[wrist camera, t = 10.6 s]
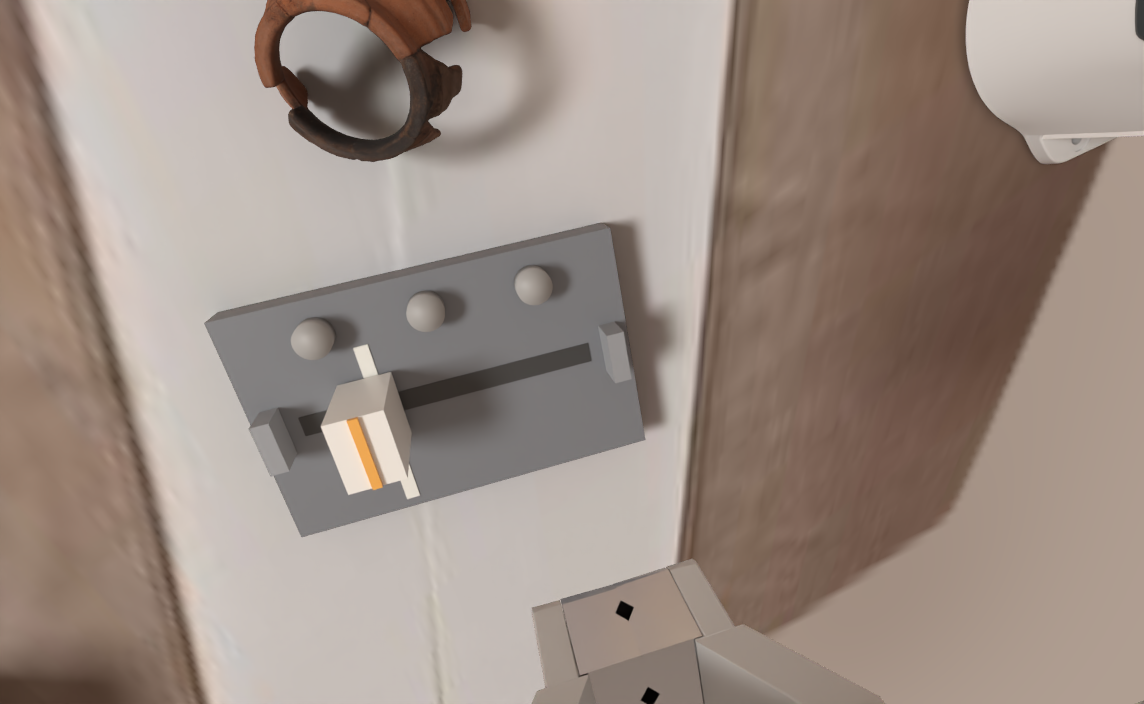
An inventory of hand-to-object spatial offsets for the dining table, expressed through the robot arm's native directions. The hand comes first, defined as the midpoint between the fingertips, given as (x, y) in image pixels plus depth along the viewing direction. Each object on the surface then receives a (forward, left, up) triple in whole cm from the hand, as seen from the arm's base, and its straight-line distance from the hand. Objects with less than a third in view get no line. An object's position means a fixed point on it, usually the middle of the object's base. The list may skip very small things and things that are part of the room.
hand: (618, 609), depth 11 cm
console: (+4, +5, -27) cm, 27 cm away
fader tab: (+8, +5, -24) cm, 26 cm away
